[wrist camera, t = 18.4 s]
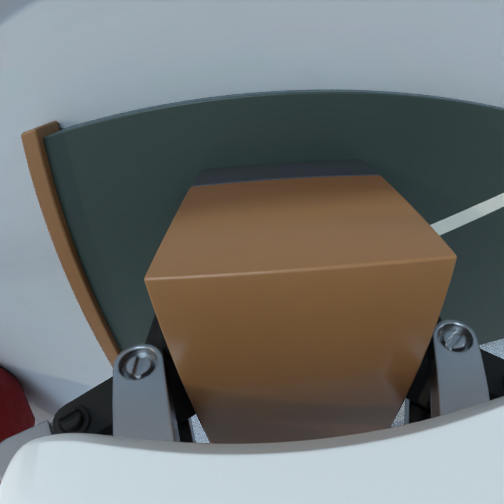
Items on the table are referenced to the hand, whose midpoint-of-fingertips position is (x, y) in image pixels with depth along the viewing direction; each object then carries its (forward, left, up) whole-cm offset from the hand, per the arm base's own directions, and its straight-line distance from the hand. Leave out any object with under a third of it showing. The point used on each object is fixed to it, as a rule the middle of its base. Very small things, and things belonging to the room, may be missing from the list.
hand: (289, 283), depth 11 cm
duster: (0, 0, -1) cm, 1 cm away
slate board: (0, +4, -2) cm, 4 cm away
